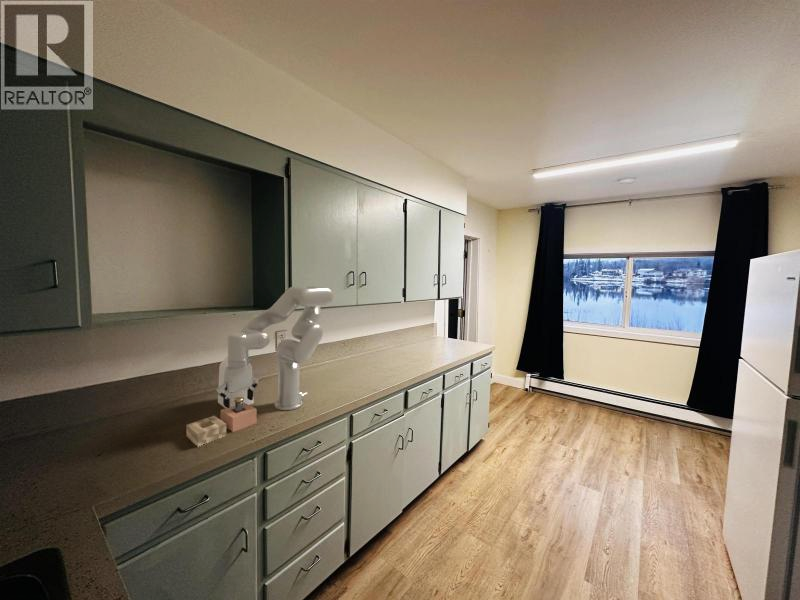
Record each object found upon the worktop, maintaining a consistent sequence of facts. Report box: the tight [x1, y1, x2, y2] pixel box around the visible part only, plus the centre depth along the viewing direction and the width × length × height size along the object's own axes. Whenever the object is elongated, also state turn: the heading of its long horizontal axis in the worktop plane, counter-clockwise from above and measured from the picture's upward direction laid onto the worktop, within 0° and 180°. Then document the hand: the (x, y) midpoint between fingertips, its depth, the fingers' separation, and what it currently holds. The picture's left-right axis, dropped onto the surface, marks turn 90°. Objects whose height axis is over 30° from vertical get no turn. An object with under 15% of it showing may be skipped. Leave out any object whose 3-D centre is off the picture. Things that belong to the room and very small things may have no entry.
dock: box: [220, 403, 258, 433], centre depth 135 cm, size 10×10×6 cm
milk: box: [217, 355, 255, 409], centre depth 153 cm, size 12×12×26 cm
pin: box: [234, 397, 244, 413], centre depth 135 cm, size 4×4×11 cm
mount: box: [185, 415, 227, 448], centre depth 124 cm, size 10×10×5 cm
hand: (238, 403), depth 135 cm, fingers open, 9 cm apart
